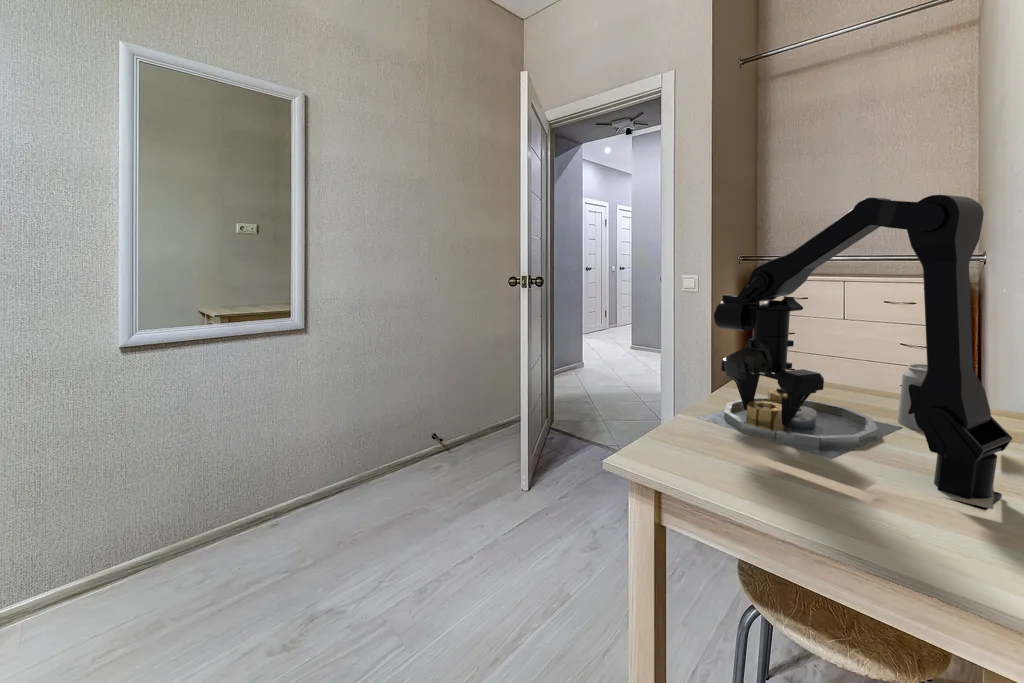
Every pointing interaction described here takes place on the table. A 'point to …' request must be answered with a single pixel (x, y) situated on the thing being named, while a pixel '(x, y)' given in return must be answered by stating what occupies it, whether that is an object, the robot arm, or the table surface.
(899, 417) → the can
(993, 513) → the table surface
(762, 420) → the hollow octagonal wooden tube
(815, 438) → the tray
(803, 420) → the domed metal knob cap
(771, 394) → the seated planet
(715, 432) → the table surface
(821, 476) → the table surface
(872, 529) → the table surface
